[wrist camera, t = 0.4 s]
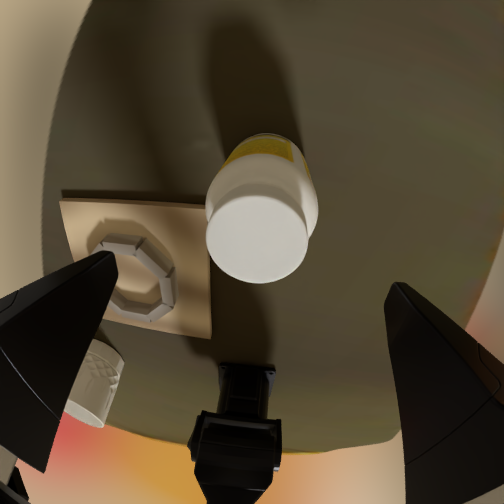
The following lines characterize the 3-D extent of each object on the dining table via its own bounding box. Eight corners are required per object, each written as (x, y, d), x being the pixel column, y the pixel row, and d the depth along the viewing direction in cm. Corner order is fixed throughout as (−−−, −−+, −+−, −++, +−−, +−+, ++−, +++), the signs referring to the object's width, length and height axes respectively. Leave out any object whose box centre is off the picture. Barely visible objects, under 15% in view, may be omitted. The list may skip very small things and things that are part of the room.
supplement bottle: (212, 170, 19) (161, 238, 11) (268, 116, 17) (256, 140, 9) (266, 220, 21) (255, 315, 13) (322, 173, 19) (355, 246, 11)
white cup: (71, 338, 33) (40, 391, 25) (101, 331, 31) (67, 394, 22) (105, 372, 37) (82, 424, 28) (139, 369, 34) (115, 430, 26)
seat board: (211, 333, 28) (207, 350, 26) (96, 311, 29) (87, 324, 27) (209, 205, 21) (201, 218, 19) (64, 197, 21) (49, 208, 19)
